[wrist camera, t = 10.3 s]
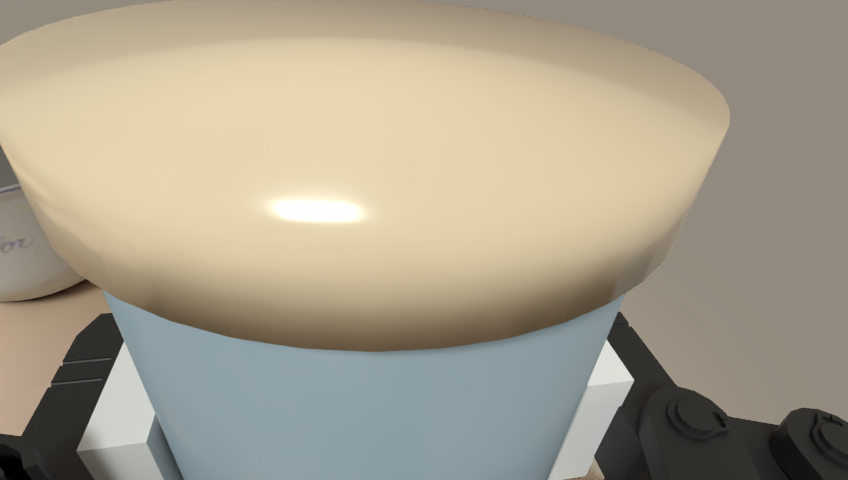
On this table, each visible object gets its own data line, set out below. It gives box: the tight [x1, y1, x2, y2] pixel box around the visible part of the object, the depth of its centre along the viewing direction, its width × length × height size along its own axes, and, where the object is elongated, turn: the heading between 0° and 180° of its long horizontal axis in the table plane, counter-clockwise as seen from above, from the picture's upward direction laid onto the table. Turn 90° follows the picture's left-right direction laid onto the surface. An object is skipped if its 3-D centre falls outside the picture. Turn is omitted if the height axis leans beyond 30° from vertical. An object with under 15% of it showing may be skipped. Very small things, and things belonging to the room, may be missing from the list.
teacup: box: [0, 145, 85, 301], centre depth 28 cm, size 14×11×8 cm
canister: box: [0, 0, 730, 480], centre depth 8 cm, size 6×6×13 cm
